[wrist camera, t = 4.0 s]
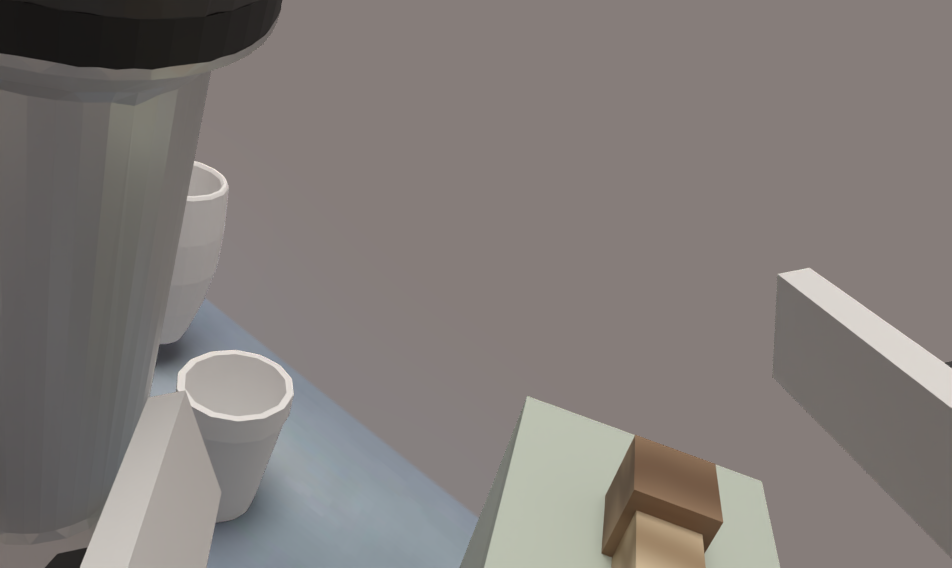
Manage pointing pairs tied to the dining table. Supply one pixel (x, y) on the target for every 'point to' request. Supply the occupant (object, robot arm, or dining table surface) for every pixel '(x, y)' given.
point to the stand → (590, 500)
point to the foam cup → (237, 418)
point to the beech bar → (661, 509)
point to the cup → (196, 249)
